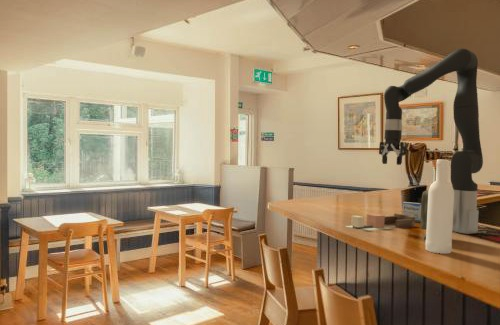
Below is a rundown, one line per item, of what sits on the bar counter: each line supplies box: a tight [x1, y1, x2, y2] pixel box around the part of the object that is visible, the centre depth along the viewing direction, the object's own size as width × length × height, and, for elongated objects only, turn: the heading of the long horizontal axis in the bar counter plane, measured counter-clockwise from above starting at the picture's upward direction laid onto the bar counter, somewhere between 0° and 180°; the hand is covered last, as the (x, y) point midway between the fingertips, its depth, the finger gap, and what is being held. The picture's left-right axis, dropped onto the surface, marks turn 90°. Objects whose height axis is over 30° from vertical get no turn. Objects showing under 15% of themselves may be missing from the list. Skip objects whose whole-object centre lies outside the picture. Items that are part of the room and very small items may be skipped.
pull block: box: [350, 213, 386, 230], centre depth 174 cm, size 5×14×5 cm, turn 119°
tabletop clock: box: [419, 189, 454, 241], centre depth 157 cm, size 14×9×25 cm, turn 147°
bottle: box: [424, 158, 454, 255], centre depth 138 cm, size 8×8×30 cm
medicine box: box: [401, 201, 421, 223], centre depth 197 cm, size 8×4×9 cm, turn 62°
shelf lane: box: [345, 213, 417, 232], centre depth 178 cm, size 11×30×4 cm, turn 119°
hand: (391, 164), depth 197 cm, fingers open, 8 cm apart
